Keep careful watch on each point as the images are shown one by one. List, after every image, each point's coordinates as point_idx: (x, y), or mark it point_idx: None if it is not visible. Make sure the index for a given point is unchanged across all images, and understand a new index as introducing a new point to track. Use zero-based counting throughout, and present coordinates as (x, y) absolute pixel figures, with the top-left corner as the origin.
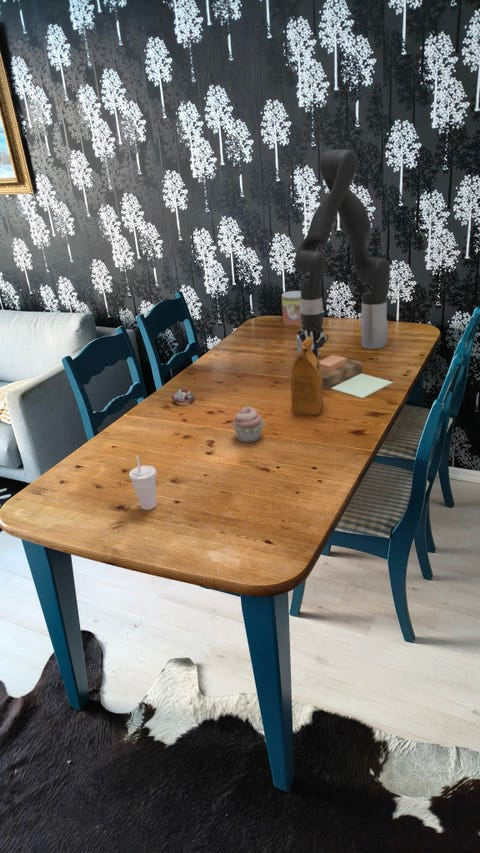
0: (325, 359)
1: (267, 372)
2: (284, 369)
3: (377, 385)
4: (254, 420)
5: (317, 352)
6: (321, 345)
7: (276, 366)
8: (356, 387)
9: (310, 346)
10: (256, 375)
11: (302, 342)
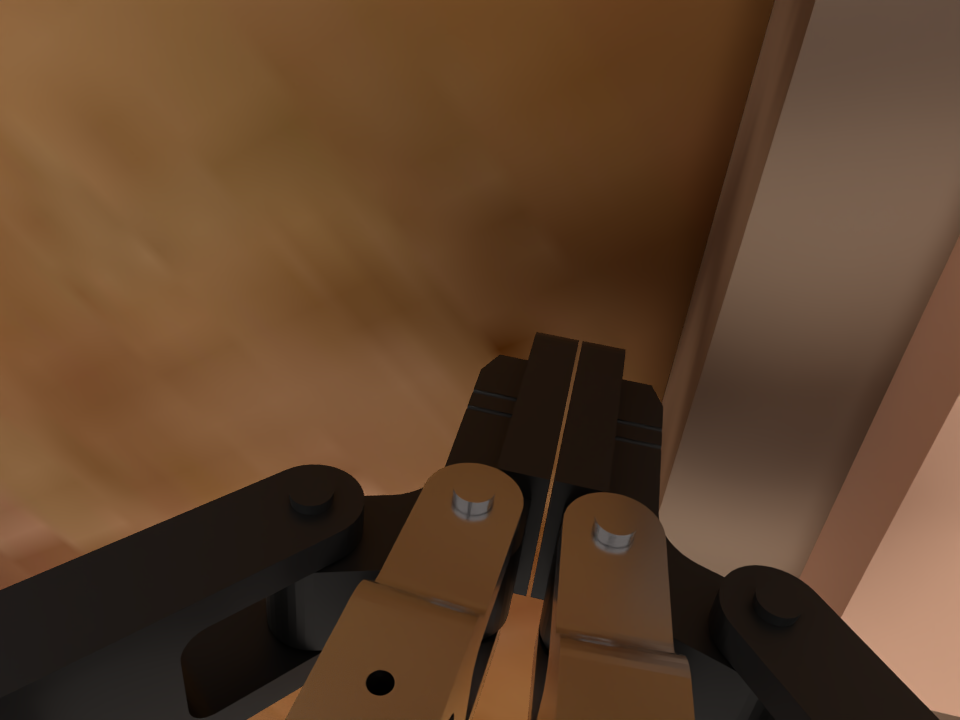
0: (947, 535)
1: (104, 468)
2: (175, 328)
3: None
4: None
5: (657, 466)
6: (823, 671)
7: (13, 281)
8: None
9: (493, 650)
10: None
11: (205, 645)
